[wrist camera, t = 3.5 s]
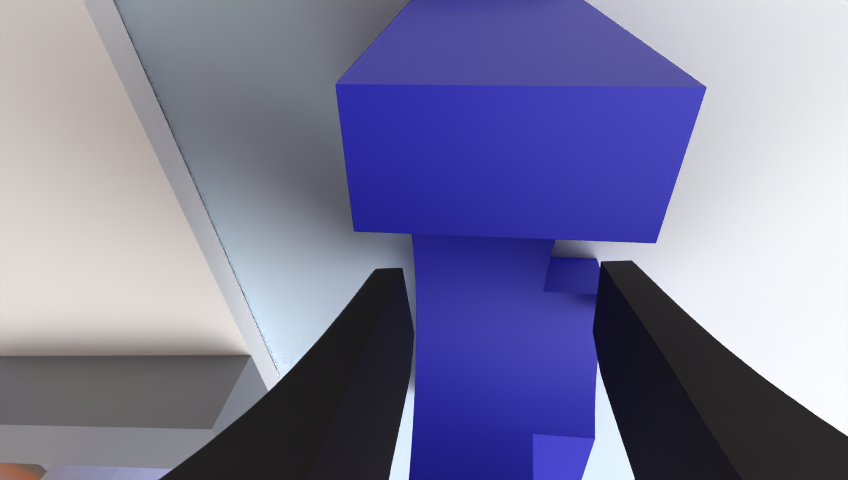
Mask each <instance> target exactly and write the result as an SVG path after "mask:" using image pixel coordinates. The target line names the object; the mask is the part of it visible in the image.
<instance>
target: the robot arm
mask: <svg viewBox="0 0 848 480" xmlns="http://www.w3.org/2000/svg"><path fill="white" fill-rule="evenodd" d="M592 332H593V337H594V342H595V348H596V353H597V358H598V363H599V368H600V373H601V376H602V380H603V383H604V386H605V389H606V392H607V395H608V398H609V401H610V404H611V408H612V411H613V414H614V417H615V420H616V423H617V426H618V429H619V432H620V435H621V438H622V441H623V444H624V447H625V450H626V453H627V456H628V459H629V462H630V465H631V468H632V471H633V474H634V477H635V480H848V436H846V435H845V434H843V433H842V432H840V431H839V430H837V429H836V428H834V427H833V426H831V425H830V424H828V423H827V422H825V421H824V420H822V419H821V418H819V417H818V416H816V415H815V414H814V413H812V412H811V411H809V410H808V409H806V408H805V407H804V406H802V405H801V404H799V403H798V402H797V401H795V400H794V399H792V398H791V397H790V396H788V395H787V394H785V393H784V392H783V391H781V390H780V389H778V388H777V387H775V386H774V385H773V384H771V383H770V382H769V381H768V380H766V379H765V378H764V377H762V376H761V375H760V374H758V373H757V372H756V371H754V370H753V369H752V368H751V367H749V366H748V365H747V364H746V363H744V362H743V361H742V360H741V359H739V358H738V357H737V356H736V355H735V354H733V353H732V352H731V351H730V350H728V349H727V348H726V347H725V346H723V345H722V344H721V343H720V342H719V341H718V340H716V339H715V338H714V337H713V336H712V335H711V334H709V333H708V332H707V331H706V330H705V329H704V328H703V327H702V326H701V325H699V324H698V323H697V322H696V321H695V320H694V319H693V318H692V317H690V316H689V315H688V314H687V313H686V312H685V311H684V310H683V309H682V308H681V307H680V306H679V305H677V304H676V303H675V302H674V301H673V300H672V299H671V298H670V297H669V296H668V295H667V294H666V293H665V292H664V291H663V290H662V289H661V288H660V287H659V286H658V285H657V284H656V283H655V282H654V281H653V280H652V279H650V278H649V277H648V276H647V275H646V274H645V273H644V272H643V271H642V270H641V269H640V268H639V267H638V266H637V265H636V264H635V263H634V262H633V261H601V266H600V274H599V282H598V290H597V298H596V307H595V315H594V323H593V331H592ZM413 341H414V330H413V324H412V319H411V313H410V307H409V302H408V296H407V291H406V285H405V280H404V274H403V269H402V268H384V269H375V270H374V271H373V272H372V274H371V275H370V276H369V278H368V279H367V280H366V281H365V283H364V284H363V285H362V287H361V288H360V289H359V291H358V292H357V293H356V295H355V296H354V297H353V298H352V300H351V301H350V302H349V303H348V305H347V306H346V307H345V309H344V310H343V311H342V312H341V313H340V315H339V316H338V317H337V318H336V319H335V321H334V322H333V323H332V324H331V326H330V327H329V328H328V329H327V330H326V332H325V333H324V334H323V335H322V336H321V337H320V339H319V340H318V341H317V342H316V343H315V344H314V345H313V346H312V347H311V348H310V349H309V351H308V352H307V353H306V354H305V355H304V356H303V357H302V358H301V359H300V360H299V361H298V363H297V364H296V365H295V366H294V367H293V368H292V369H291V370H290V371H289V372H288V373H287V374H286V375H285V376H284V377H283V378H282V379H281V380H280V381H279V382H278V383H277V384H276V385H275V386H274V387H273V388H272V389H271V390H270V391H268V392H267V393H266V394H265V395H264V396H263V397H262V398H261V399H260V400H259V401H258V402H257V403H256V404H254V405H253V406H252V407H251V408H250V409H249V410H248V411H246V412H245V413H244V414H243V415H242V416H240V417H239V418H238V419H237V420H235V421H234V422H233V423H232V424H231V425H229V426H228V427H227V428H226V429H224V430H223V431H222V432H221V433H220V434H218V435H217V436H216V437H215V438H213V439H212V440H211V441H210V442H208V443H207V444H206V445H205V446H203V447H202V448H201V449H200V450H198V451H197V452H196V453H194V454H193V455H192V456H190V457H189V458H187V459H186V460H185V461H183V462H182V463H181V464H179V465H178V466H177V467H175V468H174V469H159V468H131V467H103V466H76V465H48V464H39V465H40V466H41V467H42V468H44V469H45V470H46V471H47V472H46V473H45V474H44V476H43V477H42V478H41V479H40V480H389V476H390V470H391V465H392V460H393V456H394V451H395V446H396V441H397V437H398V432H399V427H400V423H401V418H402V413H403V408H404V404H405V399H406V394H407V389H408V384H409V379H410V374H411V364H412V353H413Z"/></svg>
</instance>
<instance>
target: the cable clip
mask: <svg viewBox="0 0 848 480" xmlns="http://www.w3.org/2000/svg"><path fill="white" fill-rule="evenodd" d="M335 85H336V93H337V101H338V109H339V117H340V125H341V133H342V140H343V148H344V156H345V164H346V172H347V180H348V188H349V196H350V204H351V212H352V220H353V228H354V232H380V233H405V234H412V241H413V250H414V262H415V279H416V373H415V397H414V416H413V432H412V446H411V460H410V472H409V480H581V479H582V476H583V473H584V470H585V467H586V464H587V461H588V458H589V455H590V452H591V449H592V446H593V443H594V440H595V390H596V373H597V362H598V358H597V353H596V348H595V342H594V337H593V332H592V331H593V323H594V315H595V307H596V298H597V290H598V282H599V274H600V267H599V264H598V261H597V259H588V258H564V257H551V253H552V250H553V247H554V243H555V240H556V239H559V240H585V241H611V242H636V243H656V241H657V238H658V235H659V232H660V229H661V226H662V223H663V220H664V217H665V214H666V210H667V207H668V204H669V201H670V198H671V195H672V192H673V189H674V186H675V183H676V180H677V177H678V174H679V171H680V168H681V164H682V161H683V158H684V155H685V152H686V149H687V146H688V143H689V140H690V137H691V134H692V131H693V128H694V125H695V122H696V118H697V115H698V112H699V109H700V106H701V103H702V100H703V97H704V94H705V91H706V88H707V87H705V86H704V85H703V84H701V83H700V82H698V81H697V80H696V79H694V78H693V77H691V76H690V75H689V74H687V73H686V72H684V71H683V70H682V69H680V68H679V67H677V66H676V65H674V64H673V63H672V62H670V61H669V60H667V59H666V58H665V57H663V56H662V55H660V54H659V53H658V52H656V51H655V50H653V49H652V48H651V47H649V46H648V45H646V44H645V43H643V42H642V41H641V40H639V39H638V38H636V37H635V36H634V35H632V34H631V33H629V32H628V31H627V30H625V29H624V28H622V27H621V26H619V25H618V24H617V23H615V22H614V21H612V20H611V19H610V18H608V17H607V16H605V15H604V14H603V13H601V12H600V11H598V10H597V9H596V8H594V7H593V6H591V5H590V4H588V3H587V2H586V1H584V0H411V1H410V2H409V3H408V4H407V5H406V7H405V8H404V9H403V10H402V11H401V12H400V13H399V14H398V15H397V17H396V18H395V19H394V20H393V21H392V22H391V23H390V24H389V25H388V26H387V28H386V29H385V30H384V31H383V32H382V33H381V34H380V35H379V36H378V38H377V39H376V40H375V41H374V42H373V43H372V44H371V45H370V46H369V47H368V49H367V50H366V51H365V52H364V53H363V54H362V55H361V56H360V57H359V59H358V60H357V61H356V62H355V63H354V64H353V65H352V66H351V67H350V68H349V70H348V71H347V72H346V73H345V74H344V75H343V76H342V77H341V78H340V79H339V81H338V82H337V83H336V84H335Z"/></svg>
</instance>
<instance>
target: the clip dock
mask: <svg viewBox="0 0 848 480" xmlns="http://www.w3.org/2000/svg"><path fill="white" fill-rule="evenodd" d="M278 379H279V375H278V372H277V370H276V368H275V365H274V363H273V361H272V359H271V356H270V354H269V352H268V350H267V347H266V345H265V343H264V341H263V338H262V336H261V334H260V331H259V329H258V327H257V325H256V322H255V320H254V318H253V316H252V313H251V311H250V309H249V307H248V304H247V302H246V300H245V298H244V295H243V293H242V291H241V288H240V286H239V284H238V282H237V279H236V277H235V275H234V273H233V270H232V268H231V266H230V264H229V261H228V259H227V257H226V255H225V252H224V250H223V248H222V245H221V243H220V241H219V239H218V236H217V234H216V232H215V230H214V227H213V225H212V223H211V221H210V218H209V216H208V214H207V212H206V209H205V207H204V205H203V202H202V200H201V198H200V196H199V193H198V191H197V189H196V187H195V184H194V182H193V180H192V178H191V175H190V173H189V171H188V168H187V166H186V164H185V162H184V159H183V157H182V155H181V153H180V150H179V148H178V146H177V144H176V141H175V139H174V137H173V135H172V132H171V130H170V128H169V125H168V123H167V121H166V119H165V116H164V114H163V112H162V110H161V107H160V105H159V103H158V101H157V98H156V96H155V94H154V92H153V89H152V87H151V85H150V82H149V80H148V78H147V76H146V73H145V71H144V69H143V67H142V64H141V62H140V60H139V58H138V55H137V53H136V51H135V49H134V46H133V44H132V42H131V39H130V37H129V35H128V33H127V30H126V28H125V26H124V24H123V21H122V19H121V17H120V15H119V12H118V10H117V8H116V5H115V3H114V1H113V0H0V463H21V464H48V465H76V466H103V467H131V468H159V469H174V468H175V467H177V466H178V465H179V464H181V463H182V462H183V461H185V460H186V459H187V458H189V457H190V456H192V455H193V454H194V453H196V452H197V451H198V450H200V449H201V448H202V447H203V446H205V445H206V444H207V443H208V442H210V441H211V440H212V439H213V438H215V437H216V436H217V435H218V434H220V433H221V432H222V431H223V430H224V429H226V428H227V427H228V426H229V425H231V424H232V423H233V422H234V421H235V420H237V419H238V418H239V417H240V416H242V415H243V414H244V413H245V412H246V411H248V410H249V409H250V408H251V407H252V406H253V405H254V404H256V403H257V402H258V401H259V400H260V399H261V398H262V397H263V396H264V395H265V394H266V393H267V392H268V391H270V390H271V389H272V388H273V387H274V386H275V385H276V384H277V382H278Z"/></svg>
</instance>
